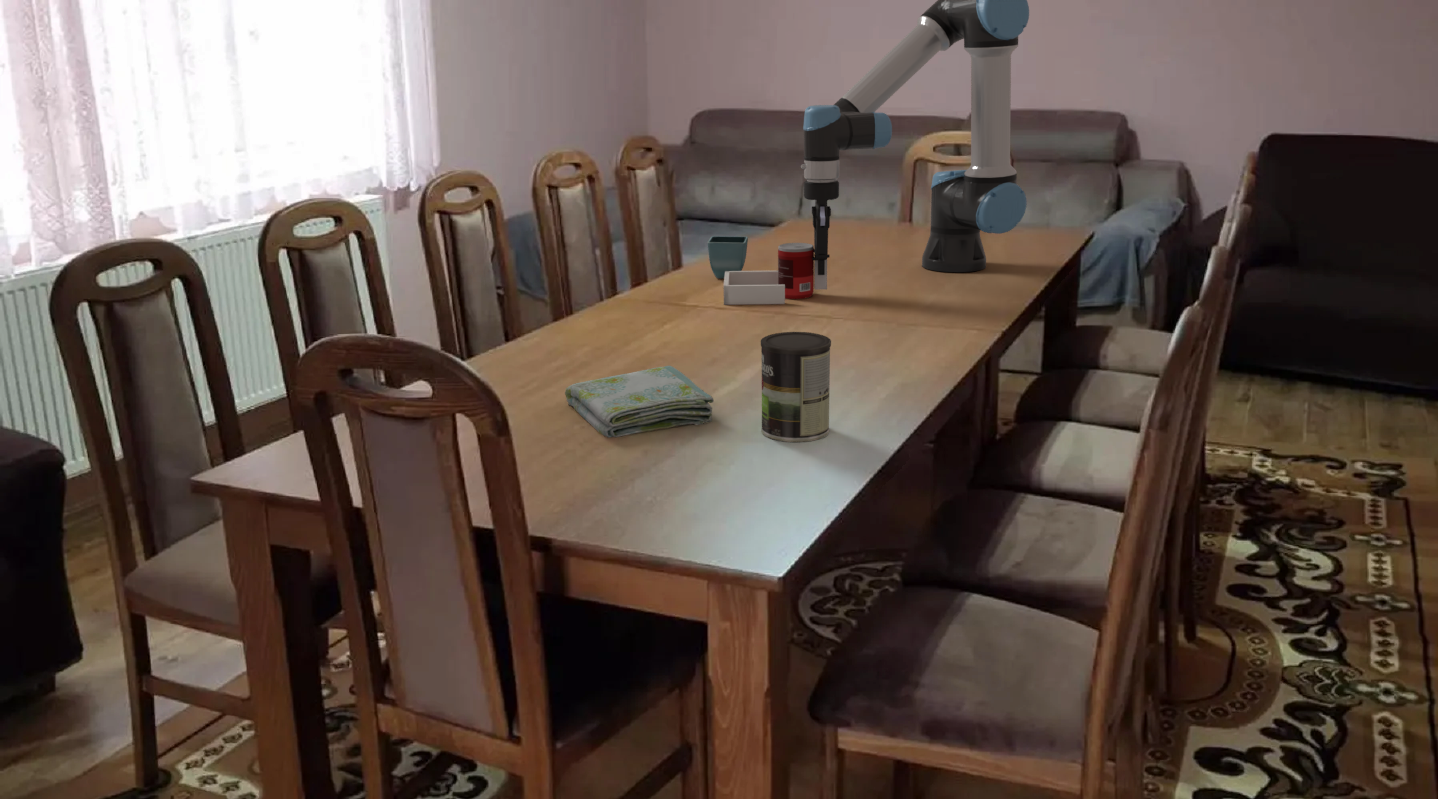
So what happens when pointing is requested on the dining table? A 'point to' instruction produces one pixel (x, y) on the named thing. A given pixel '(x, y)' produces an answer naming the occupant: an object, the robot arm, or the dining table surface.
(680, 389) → the towel
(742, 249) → the flower pot
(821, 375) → the coffee can
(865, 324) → the dining table surface
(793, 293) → the canned food
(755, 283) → the white open tray
